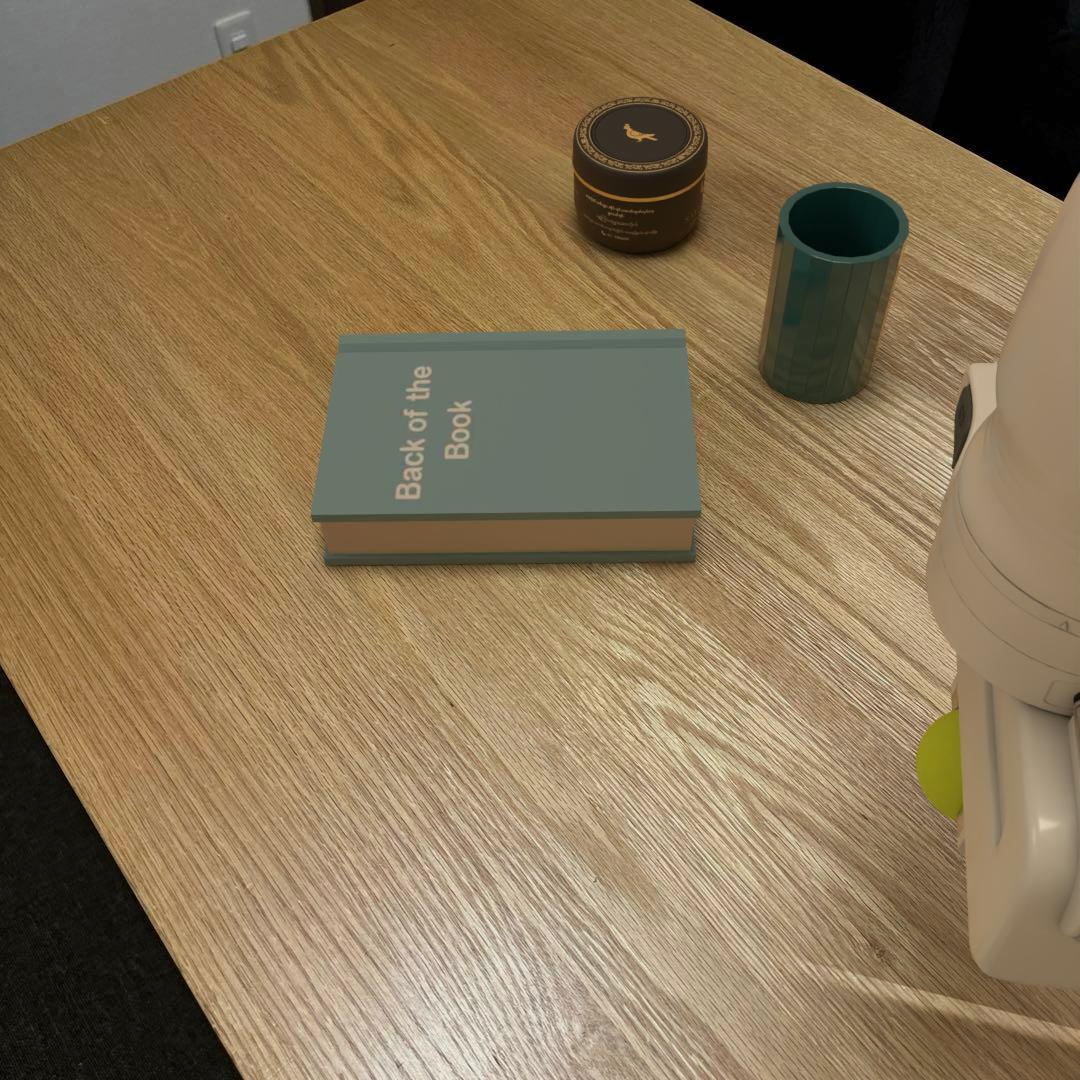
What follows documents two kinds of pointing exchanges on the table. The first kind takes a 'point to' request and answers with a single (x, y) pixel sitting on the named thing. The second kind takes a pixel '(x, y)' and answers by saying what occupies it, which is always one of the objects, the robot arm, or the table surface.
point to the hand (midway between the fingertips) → (974, 771)
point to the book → (509, 449)
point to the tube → (830, 290)
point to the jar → (639, 173)
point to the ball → (942, 764)
